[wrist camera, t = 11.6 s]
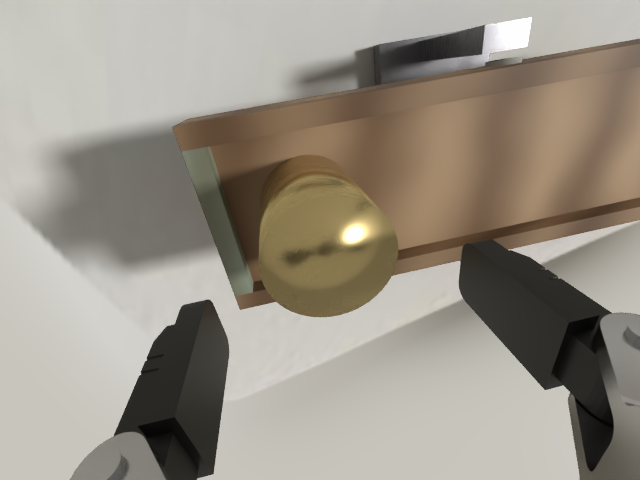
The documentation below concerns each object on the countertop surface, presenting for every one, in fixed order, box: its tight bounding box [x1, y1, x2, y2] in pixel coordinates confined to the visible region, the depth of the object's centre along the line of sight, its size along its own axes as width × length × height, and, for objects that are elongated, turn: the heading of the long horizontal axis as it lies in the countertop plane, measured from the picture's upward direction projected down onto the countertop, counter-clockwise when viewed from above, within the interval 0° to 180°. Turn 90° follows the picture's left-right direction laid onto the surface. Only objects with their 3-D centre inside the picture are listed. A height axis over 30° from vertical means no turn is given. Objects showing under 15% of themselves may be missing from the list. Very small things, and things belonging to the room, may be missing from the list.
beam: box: [172, 39, 640, 310], centre depth 17 cm, size 32×10×3 cm, turn 99°
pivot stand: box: [374, 17, 532, 261], centre depth 21 cm, size 8×14×8 cm, turn 9°
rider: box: [259, 155, 398, 317], centre depth 13 cm, size 5×5×6 cm
